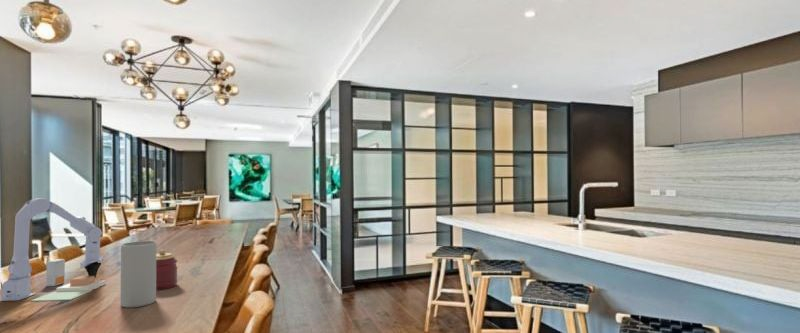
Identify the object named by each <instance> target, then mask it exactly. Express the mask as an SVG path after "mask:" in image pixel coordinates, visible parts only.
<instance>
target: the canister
mask: <svg viewBox="0 0 800 333" xmlns="http://www.w3.org/2000/svg"><path fill="white" fill-rule="evenodd" d="M176 257H177V256H176V255H175V254H173V253H171V252H166V250H165V249H161V250H159V252H158V253H156V291H160V290H168V289H171V288H174V287H177V285H178V268H179V267H178V266H177V263H178V259H177V258H176Z"/></svg>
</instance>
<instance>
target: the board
mask: <svg viewBox="0 0 800 333" xmlns="http://www.w3.org/2000/svg"><path fill="white" fill-rule="evenodd" d="M105 285H106V280H94V282H93V283H91V284H88V285H82V286H70V282H69V283H67V284H64V285H62V286H59V287H56V291H55V292H62V291H91V292H92V291H94V290H95V289H98V288H101V287H103V286H105ZM100 286H101V287H100ZM93 289H94V290H93Z"/></svg>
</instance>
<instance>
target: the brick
mask: <svg viewBox="0 0 800 333" xmlns="http://www.w3.org/2000/svg"><path fill="white" fill-rule="evenodd" d="M95 279H96V278H95V276H89V275H79V276H76V277H73V278H70V279H69V283H70V286H82V285H88V284H91V283H93V282H94V281H95Z"/></svg>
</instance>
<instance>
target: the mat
mask: <svg viewBox="0 0 800 333" xmlns="http://www.w3.org/2000/svg"><path fill="white" fill-rule="evenodd" d="M91 292H92V290H91V291H62V292H56V291H53V292H52V291H51V292H49V293H47V294H44V295H42V296H41V295H40V297H37V298H34V299H31V300H30V302H48V301H49V302H53V301H56V302H57V301H72V300H74V299H77V298H79V297H81V296H84V295H87V294H88V293H91Z"/></svg>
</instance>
